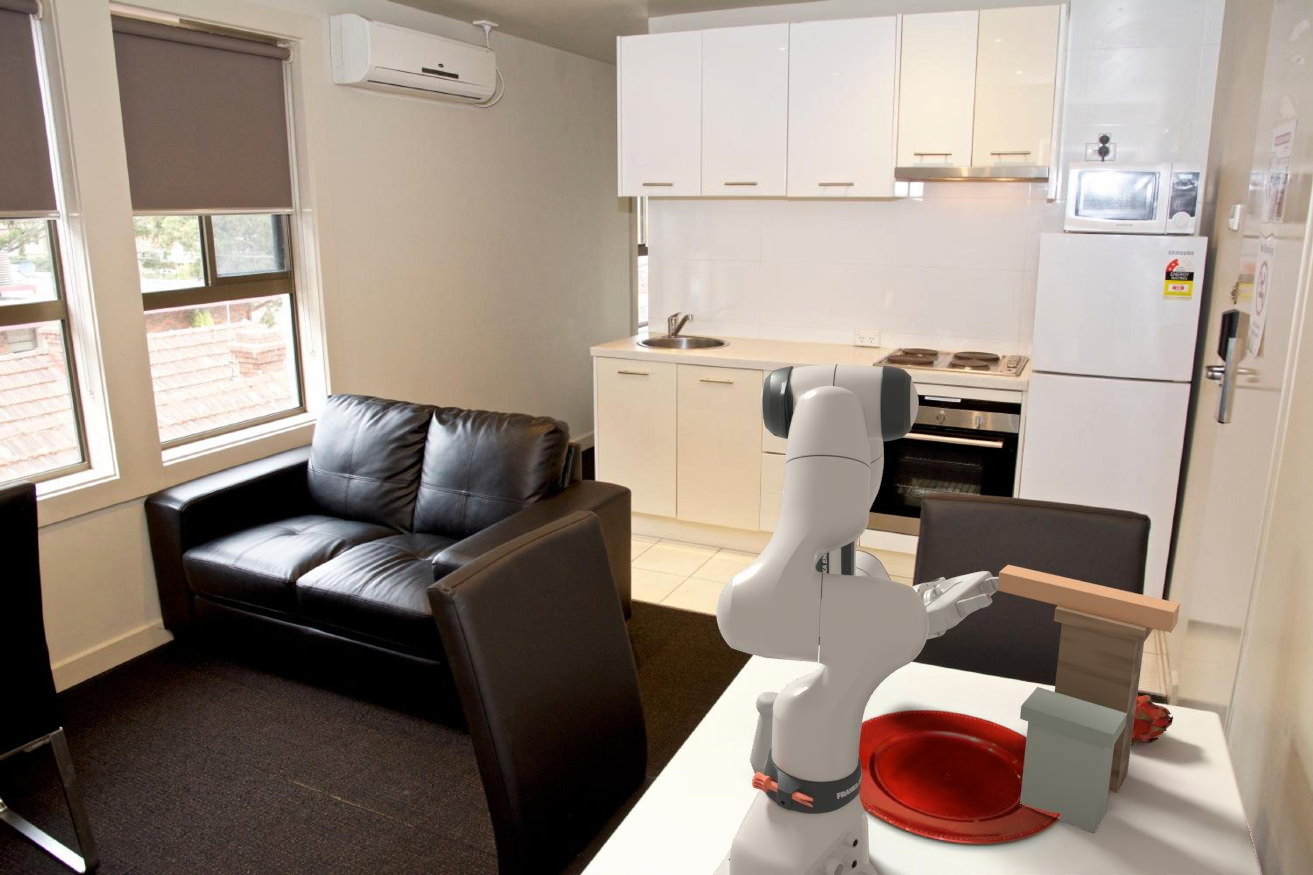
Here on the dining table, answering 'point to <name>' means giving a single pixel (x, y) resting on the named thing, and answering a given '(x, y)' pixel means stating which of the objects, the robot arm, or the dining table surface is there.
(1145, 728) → the dragon fruit
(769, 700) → the salt shaker
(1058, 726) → the low stand
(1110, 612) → the bar
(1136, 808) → the dining table surface
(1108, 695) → the tall stand
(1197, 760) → the dining table surface
